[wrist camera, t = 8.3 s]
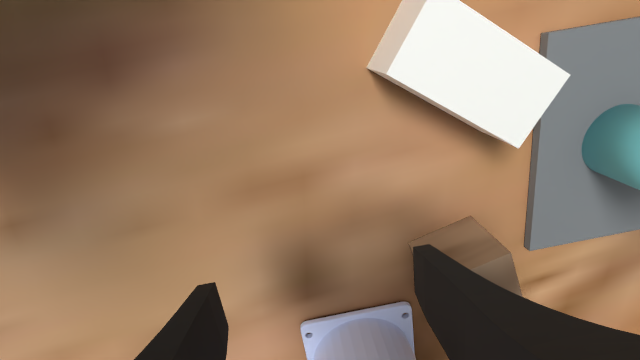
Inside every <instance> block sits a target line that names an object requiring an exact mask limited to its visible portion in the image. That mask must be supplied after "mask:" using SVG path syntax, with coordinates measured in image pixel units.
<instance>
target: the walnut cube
mask: <svg viewBox="0 0 640 360" xmlns="http://www.w3.org/2000/svg"><path fill="white" fill-rule="evenodd" d="M408 244H409V246H410V249H411V251H412V254H413V247H415V246H421V245H426V244H430V245H432V246H433V247H435V248H437V249H438V250H440V251H441V252H443V253H444V254H446V255H447V256H449V257H451V258H452V259H454V260H455V261H457V262H458V263H460V264H462V265H463V266H465V267H467V268H468V269H470V270H471V271H473V272H475V273H477V274H478V275H480V276H482V277H484V278H485V279H487V280H489V281H491V282H493V283H495V284H497V285H498V286H500V287H502V288H504V289H506V290H508V291H510V292H512V293H515V294H517V295H519V296H521V297H522V294H521V290H520V286H519V282H518V278H517V274H516V270H515V267H514V263H513V259H512V255H511V252H510V251H509V250H507V249H506V248H505V247H504V246H503V245H502V244H501V243H500V242H499V241H498V240H497V239H495V238H494V237H493V236H492V235H491V234H490V233H489V232H488V231H487V230H486V229H485V228H483V227H482V226H481V225H480V224H479V223H478V222H477V221H476V220H475V219H474V218H473V217H471V216H469V217H466V218H464V219H462V220H460V221H457V222H455V223H453V224H450V225H448V226H446V227H443V228H441V229H439V230H436V231H434V232H432V233H430V234H427V235H425V236H423V237H420V238H418V239H416V240H413V241H411V242H409V243H408Z"/></svg>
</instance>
